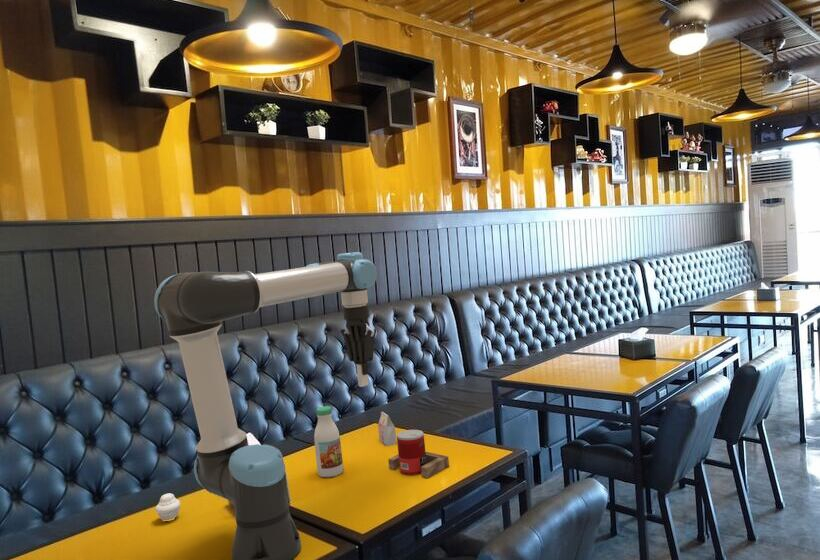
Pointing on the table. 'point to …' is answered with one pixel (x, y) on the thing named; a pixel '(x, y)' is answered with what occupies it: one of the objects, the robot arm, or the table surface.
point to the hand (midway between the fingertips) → (363, 385)
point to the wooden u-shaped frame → (432, 467)
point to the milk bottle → (327, 444)
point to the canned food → (411, 451)
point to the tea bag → (386, 430)
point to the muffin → (168, 507)
